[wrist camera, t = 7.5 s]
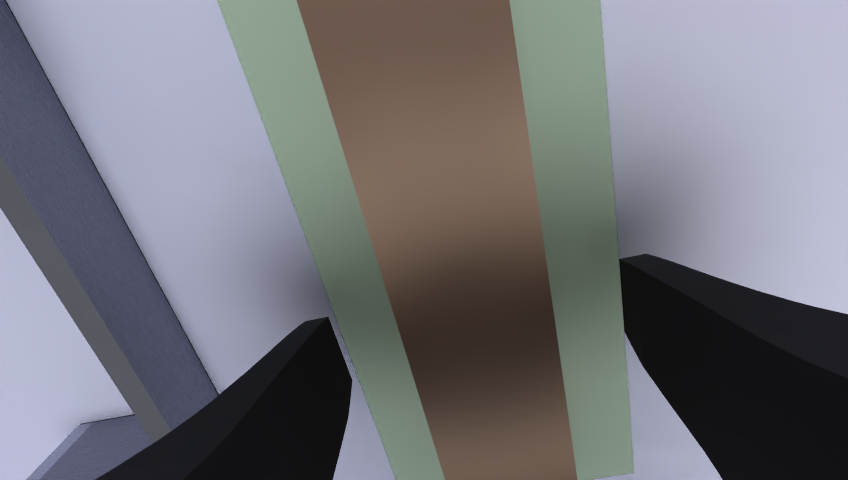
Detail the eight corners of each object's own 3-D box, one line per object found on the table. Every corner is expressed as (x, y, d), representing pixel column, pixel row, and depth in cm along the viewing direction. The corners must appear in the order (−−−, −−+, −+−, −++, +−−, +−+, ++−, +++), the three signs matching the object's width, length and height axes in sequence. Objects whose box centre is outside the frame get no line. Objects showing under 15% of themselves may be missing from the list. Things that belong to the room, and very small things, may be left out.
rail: (559, 465, 16) (592, 569, 13) (466, 479, 17) (475, 583, 13) (468, -102, 10) (487, -186, 6) (315, -57, 10) (257, -114, 7)
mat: (629, 464, 17) (634, 472, 16) (406, 496, 18) (405, 506, 17) (579, -187, 9) (585, -197, 9) (198, -69, 10) (189, -73, 10)
